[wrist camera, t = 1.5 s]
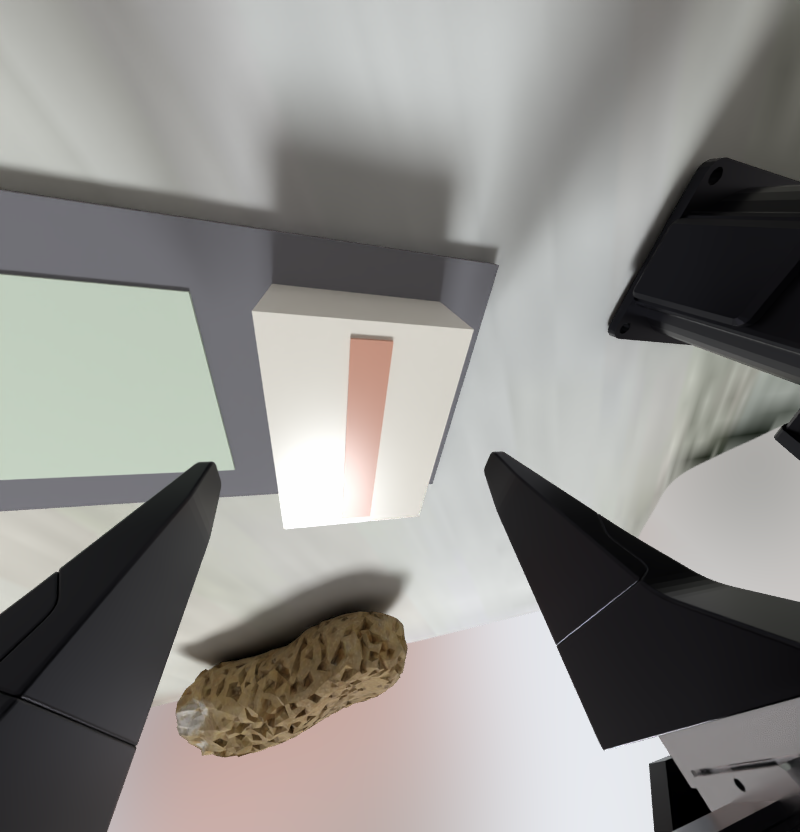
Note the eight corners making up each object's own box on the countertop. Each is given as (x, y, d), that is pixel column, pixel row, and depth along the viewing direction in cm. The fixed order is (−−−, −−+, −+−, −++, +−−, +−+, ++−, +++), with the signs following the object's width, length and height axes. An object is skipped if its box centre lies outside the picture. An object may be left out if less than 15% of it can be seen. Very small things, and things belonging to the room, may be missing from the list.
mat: (493, 263, 11) (500, 265, 10) (430, 478, 18) (432, 485, 17) (-522, 110, 5) (-588, 103, 5) (-52, 507, 12) (-65, 517, 12)
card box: (440, 301, 11) (475, 330, 8) (404, 467, 16) (419, 518, 13) (272, 283, 9) (250, 311, 7) (291, 473, 14) (283, 531, 12)
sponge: (249, 666, 33) (419, 659, 31) (206, 772, 26) (422, 773, 24) (195, 600, 27) (401, 587, 25) (120, 714, 20) (398, 709, 18)
